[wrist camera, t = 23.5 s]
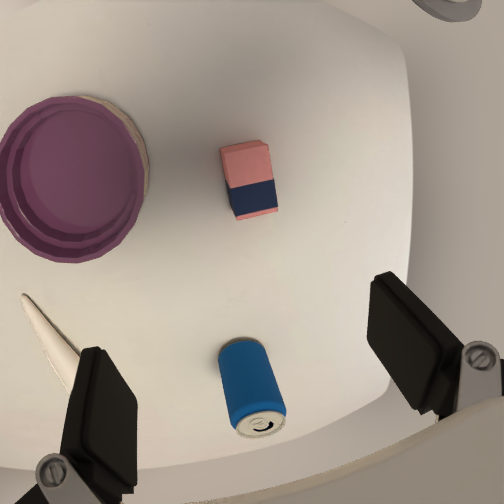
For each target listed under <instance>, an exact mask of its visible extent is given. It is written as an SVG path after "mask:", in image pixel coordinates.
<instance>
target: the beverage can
mask: <svg viewBox="0 0 504 504" xmlns="http://www.w3.org/2000/svg"><path fill="white" fill-rule="evenodd" d="M218 362H219V368H220V373H221V378H222V384H223V389H224V394H225V399H226V404H227V409H228V413H229V418H230V423H231V425H232V427H233V428H234V429H235V430H236V432H237V433H238V435H240V436H241V437H244V438H249V439H257V438H263V437H267V436H270V435H272V434H274V433H276V432H278V431H279V430H280V429H281V428H282V427H283V426H284V425H285V422H286V419H285V416H286V407H285V405H284V402H283V399H282V396H281V393H280V391H279V388H278V385H277V382H276V379H275V376H274V374H273V371H272V368H271V365H270V362H269V359H268V357H267V354H266V351H265V349H264V347H263V346H262V345H260V344H259V343H257V342H254V341H238V342H235V343H232V344H230V345H229V346H227V347H226V348H224V349H223V350H222V352H221V353H220V355H219V358H218Z"/></svg>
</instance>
